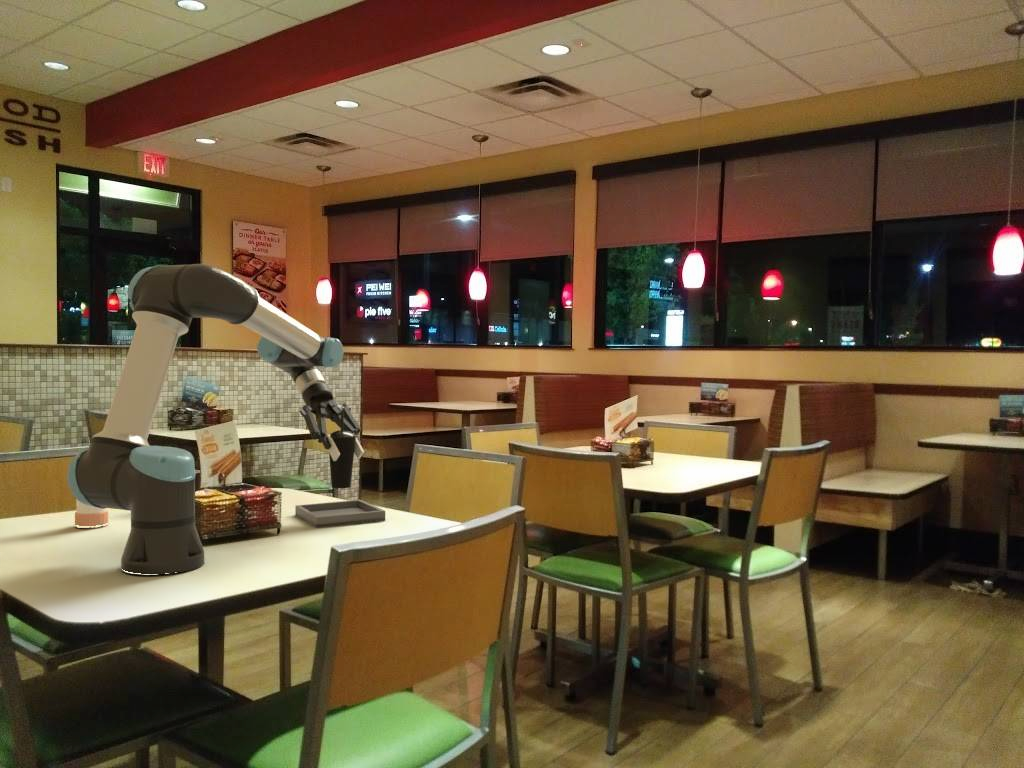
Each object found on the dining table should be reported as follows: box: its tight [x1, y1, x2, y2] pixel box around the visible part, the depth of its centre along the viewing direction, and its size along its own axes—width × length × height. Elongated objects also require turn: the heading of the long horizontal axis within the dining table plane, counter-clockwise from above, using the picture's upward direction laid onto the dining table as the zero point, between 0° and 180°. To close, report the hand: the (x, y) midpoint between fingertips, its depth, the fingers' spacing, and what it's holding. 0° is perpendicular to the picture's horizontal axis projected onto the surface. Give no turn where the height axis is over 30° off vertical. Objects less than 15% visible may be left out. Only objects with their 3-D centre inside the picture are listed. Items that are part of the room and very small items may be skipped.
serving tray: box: [295, 499, 386, 529], centre depth 204 cm, size 18×18×2 cm
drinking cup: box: [327, 411, 357, 489], centre depth 204 cm, size 8×8×20 cm
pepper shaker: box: [74, 452, 109, 526], centre depth 191 cm, size 7×7×19 cm
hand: (349, 456), depth 202 cm, fingers closed on drinking cup, 7 cm apart
